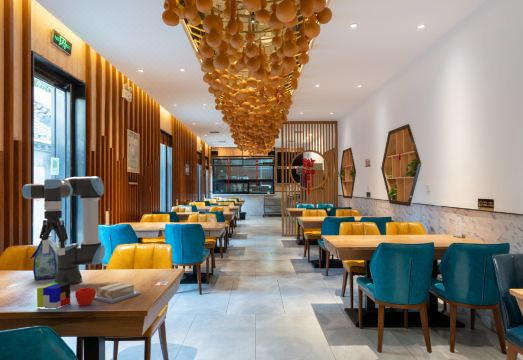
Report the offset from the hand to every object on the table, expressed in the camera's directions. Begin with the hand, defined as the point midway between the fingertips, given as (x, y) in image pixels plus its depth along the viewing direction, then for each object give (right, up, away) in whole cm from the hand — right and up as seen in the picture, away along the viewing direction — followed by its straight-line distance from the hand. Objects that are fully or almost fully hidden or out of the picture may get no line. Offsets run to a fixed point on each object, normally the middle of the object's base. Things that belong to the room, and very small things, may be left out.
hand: (53, 254), depth 183 cm
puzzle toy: (+1, -25, -1) cm, 25 cm away
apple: (+15, -25, 0) cm, 29 cm away
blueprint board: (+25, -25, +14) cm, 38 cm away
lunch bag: (-41, -28, +66) cm, 83 cm away
